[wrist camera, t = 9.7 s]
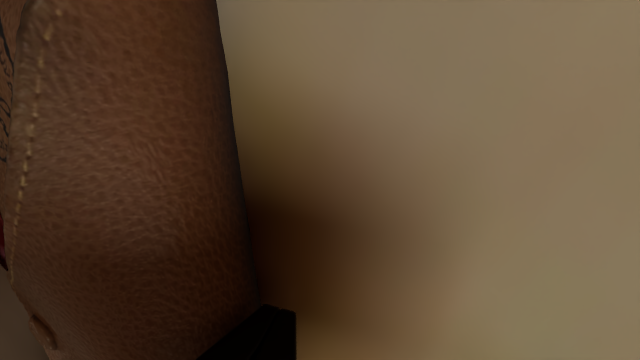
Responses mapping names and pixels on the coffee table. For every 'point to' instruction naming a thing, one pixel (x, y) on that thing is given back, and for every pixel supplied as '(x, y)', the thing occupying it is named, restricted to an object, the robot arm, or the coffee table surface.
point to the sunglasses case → (122, 178)
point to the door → (16, 327)
